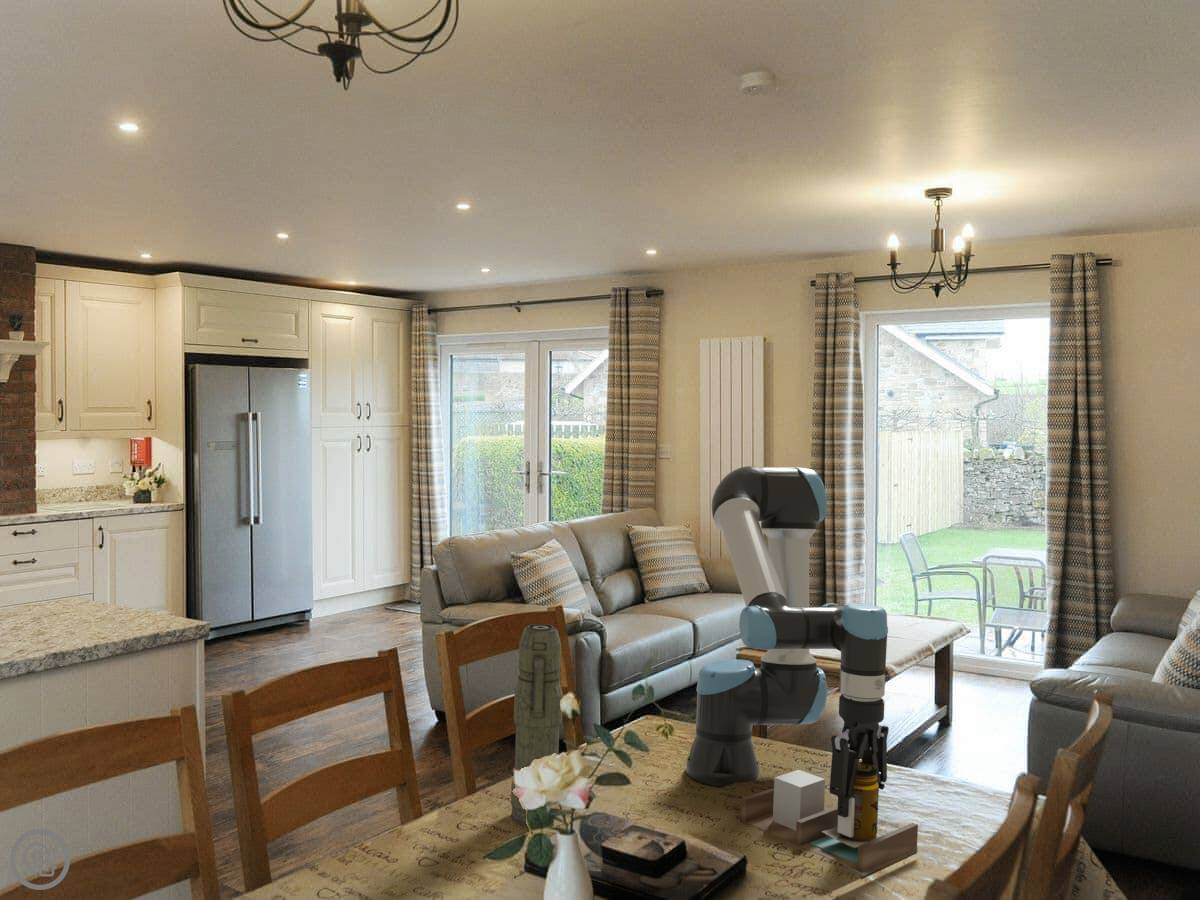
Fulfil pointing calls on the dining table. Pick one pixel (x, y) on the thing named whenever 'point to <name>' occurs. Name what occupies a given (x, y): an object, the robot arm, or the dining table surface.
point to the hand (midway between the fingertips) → (857, 829)
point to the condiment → (862, 808)
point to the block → (797, 797)
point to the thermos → (536, 701)
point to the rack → (812, 838)
